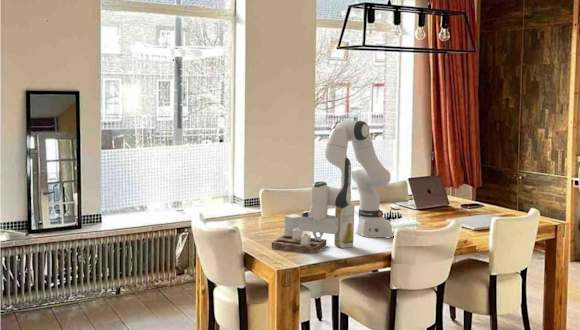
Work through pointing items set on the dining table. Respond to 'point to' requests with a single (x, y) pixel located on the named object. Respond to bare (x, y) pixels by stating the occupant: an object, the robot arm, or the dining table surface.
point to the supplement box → (291, 223)
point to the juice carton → (345, 226)
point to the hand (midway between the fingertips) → (317, 240)
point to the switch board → (298, 244)
